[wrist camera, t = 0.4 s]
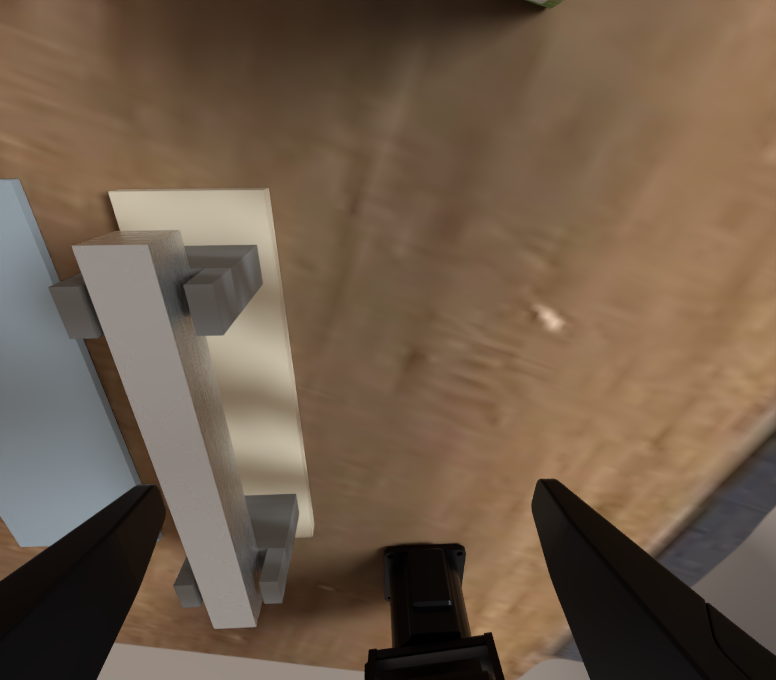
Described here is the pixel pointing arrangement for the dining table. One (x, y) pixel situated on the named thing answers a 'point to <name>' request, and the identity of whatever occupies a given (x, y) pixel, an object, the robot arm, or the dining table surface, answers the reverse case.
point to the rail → (177, 410)
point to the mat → (48, 398)
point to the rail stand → (230, 353)
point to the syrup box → (546, 2)
